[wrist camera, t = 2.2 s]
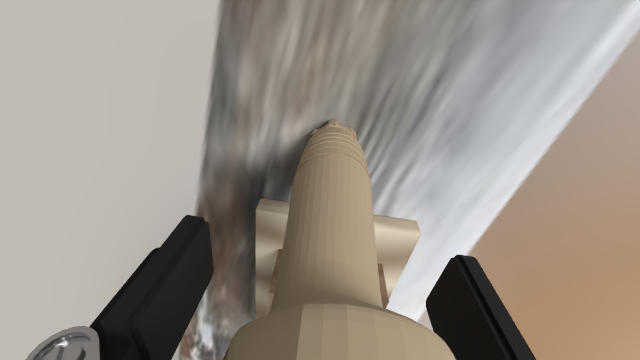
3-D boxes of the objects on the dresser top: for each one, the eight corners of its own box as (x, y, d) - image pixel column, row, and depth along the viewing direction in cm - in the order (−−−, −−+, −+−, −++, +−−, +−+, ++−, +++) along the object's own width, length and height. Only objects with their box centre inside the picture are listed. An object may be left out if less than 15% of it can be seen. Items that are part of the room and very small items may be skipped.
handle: (285, 163, 19) (182, 454, 6) (320, 81, 16) (249, 352, 3) (343, 187, 20) (351, 485, 7) (388, 114, 17) (546, 430, 4)
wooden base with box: (260, 197, 21) (241, 244, 17) (416, 221, 21) (435, 272, 17) (258, 315, 31) (246, 363, 27) (365, 330, 31) (369, 379, 27)
